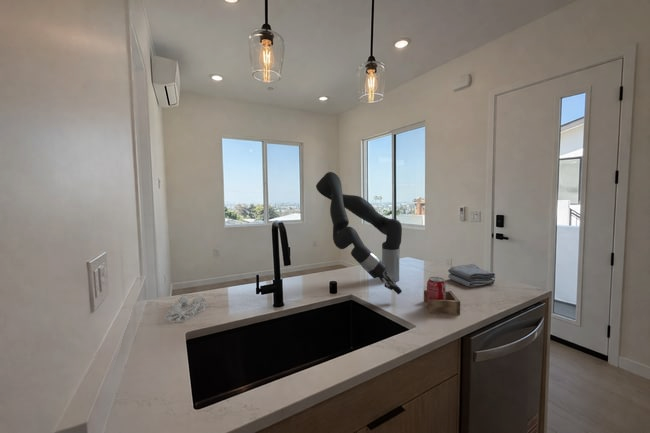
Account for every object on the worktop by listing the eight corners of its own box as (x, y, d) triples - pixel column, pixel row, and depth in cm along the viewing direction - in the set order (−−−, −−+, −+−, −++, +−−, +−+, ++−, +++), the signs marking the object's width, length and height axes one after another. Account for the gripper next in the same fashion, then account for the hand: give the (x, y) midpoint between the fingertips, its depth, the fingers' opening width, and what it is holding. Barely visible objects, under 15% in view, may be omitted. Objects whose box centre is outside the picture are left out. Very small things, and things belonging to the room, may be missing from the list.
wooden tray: (429, 312, 108) (429, 300, 108) (423, 301, 120) (423, 290, 119) (460, 314, 106) (460, 301, 106) (451, 302, 118) (451, 291, 118)
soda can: (441, 304, 116) (442, 276, 115) (447, 311, 109) (448, 281, 108) (424, 304, 117) (425, 276, 116) (429, 311, 110) (429, 281, 109)
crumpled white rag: (194, 326, 102) (195, 316, 101) (154, 325, 101) (154, 314, 100) (212, 304, 121) (212, 295, 120) (178, 303, 120) (178, 293, 119)
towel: (446, 279, 150) (447, 265, 150) (472, 276, 156) (473, 262, 156) (469, 288, 136) (470, 273, 135) (497, 284, 142) (497, 269, 141)
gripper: (365, 264, 125) (391, 290, 127) (366, 276, 113) (395, 305, 114) (377, 253, 124) (404, 280, 125) (379, 265, 111) (409, 294, 112)
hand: (400, 292), depth 119 cm, fingers closed
